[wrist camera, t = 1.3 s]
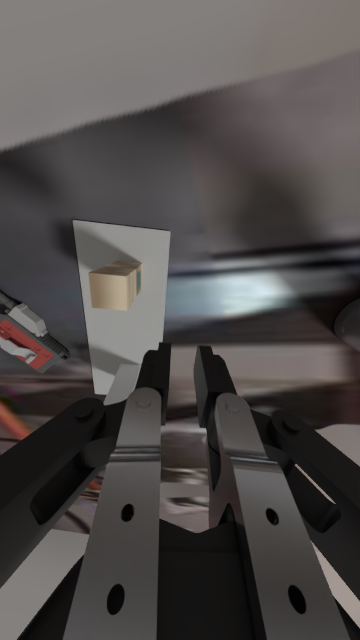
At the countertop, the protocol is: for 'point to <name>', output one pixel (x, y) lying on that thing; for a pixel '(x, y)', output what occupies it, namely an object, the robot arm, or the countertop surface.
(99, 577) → the robot arm
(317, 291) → the countertop surface
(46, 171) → the countertop surface
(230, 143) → the countertop surface
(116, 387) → the grey block
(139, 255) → the mat
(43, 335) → the walkie-talkie
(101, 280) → the beech block
